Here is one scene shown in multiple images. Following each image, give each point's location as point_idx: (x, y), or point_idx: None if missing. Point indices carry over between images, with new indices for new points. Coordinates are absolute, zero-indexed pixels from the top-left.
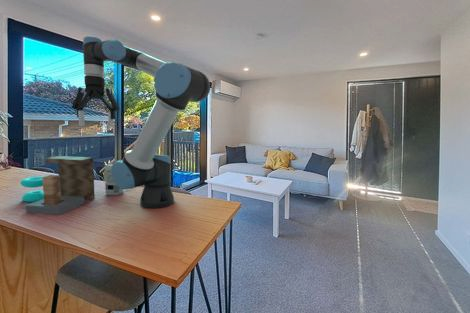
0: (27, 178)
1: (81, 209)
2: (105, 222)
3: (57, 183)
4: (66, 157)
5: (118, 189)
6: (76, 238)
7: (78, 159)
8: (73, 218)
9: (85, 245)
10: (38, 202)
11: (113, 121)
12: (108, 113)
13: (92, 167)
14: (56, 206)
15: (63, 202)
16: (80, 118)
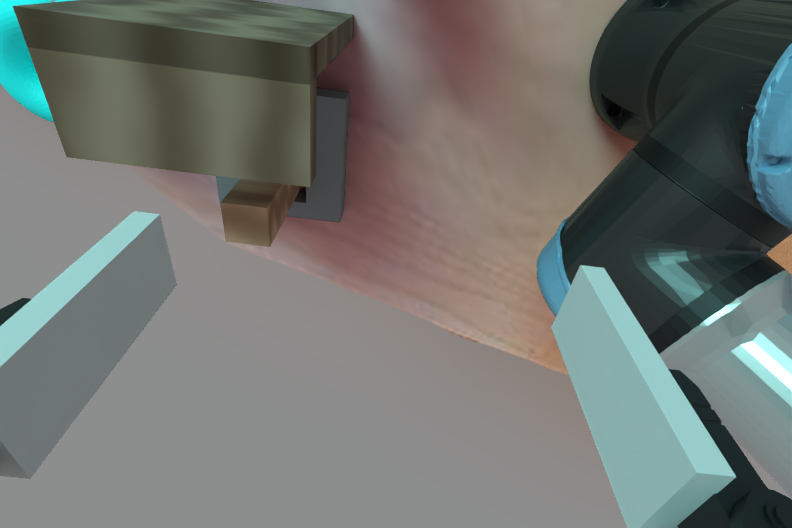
0: (6, 73)
1: (380, 160)
2: (504, 254)
3: (277, 206)
4: (143, 96)
5: None
6: (472, 324)
7: (287, 169)
8: (402, 232)
9: (502, 345)
10: (233, 180)
11: (635, 324)
12: (622, 498)
13: (324, 46)
14: (325, 214)
15: (316, 174)
16: (120, 348)
